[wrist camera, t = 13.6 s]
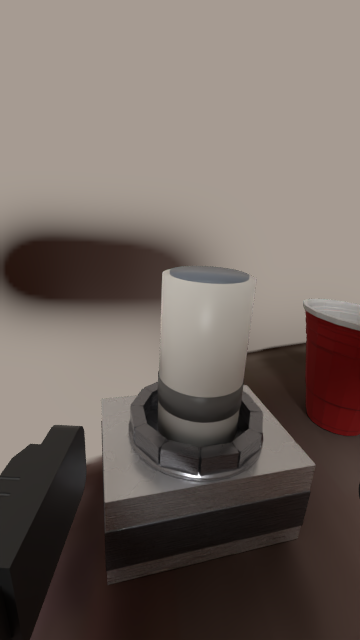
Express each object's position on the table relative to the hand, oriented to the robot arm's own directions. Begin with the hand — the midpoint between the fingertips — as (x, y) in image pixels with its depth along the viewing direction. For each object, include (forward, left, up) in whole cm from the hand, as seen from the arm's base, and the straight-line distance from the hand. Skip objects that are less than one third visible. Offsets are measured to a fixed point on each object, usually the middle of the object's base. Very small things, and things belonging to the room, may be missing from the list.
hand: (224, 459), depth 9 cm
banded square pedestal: (-3, -10, -13) cm, 17 cm away
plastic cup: (-21, -16, -13) cm, 29 cm away
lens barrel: (-3, -10, -7) cm, 12 cm away
